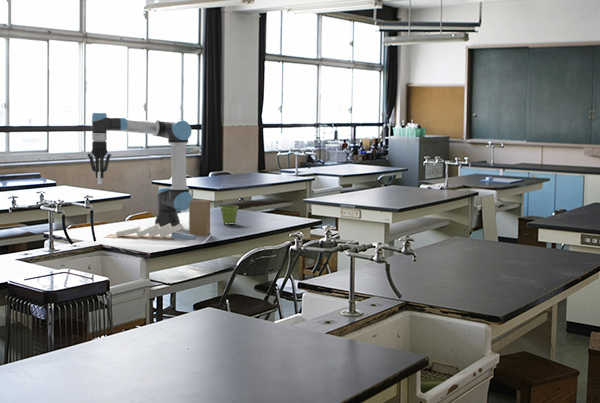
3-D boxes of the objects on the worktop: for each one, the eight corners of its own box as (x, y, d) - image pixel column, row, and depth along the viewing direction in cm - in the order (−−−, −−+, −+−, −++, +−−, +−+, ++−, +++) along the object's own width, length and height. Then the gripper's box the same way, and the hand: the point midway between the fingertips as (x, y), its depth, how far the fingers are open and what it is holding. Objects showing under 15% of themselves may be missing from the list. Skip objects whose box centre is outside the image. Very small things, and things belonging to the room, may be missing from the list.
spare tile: (117, 237, 365) (138, 232, 364) (115, 232, 365) (137, 227, 364) (119, 235, 370) (140, 230, 369) (118, 230, 369) (139, 226, 369)
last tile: (173, 232, 369) (195, 234, 369) (172, 236, 369) (194, 239, 369) (171, 233, 364) (193, 236, 364) (171, 238, 364) (193, 241, 364)
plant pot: (220, 222, 434) (221, 205, 433) (239, 223, 434) (239, 205, 433) (218, 225, 422) (218, 207, 421) (237, 226, 422) (237, 208, 421)
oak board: (109, 235, 373) (109, 234, 373) (178, 238, 373) (178, 236, 373) (103, 239, 362) (103, 237, 361) (173, 241, 361) (173, 239, 361)
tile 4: (161, 232, 369) (181, 223, 368) (163, 236, 369) (183, 227, 368) (159, 233, 364) (179, 224, 363) (161, 238, 364) (181, 228, 364)
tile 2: (138, 231, 369) (158, 223, 368) (140, 236, 369) (160, 227, 369) (136, 233, 364) (156, 224, 364) (138, 237, 365) (158, 228, 364)
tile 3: (150, 232, 369) (170, 223, 368) (152, 236, 369) (172, 227, 369) (148, 233, 364) (168, 224, 364) (150, 238, 365) (170, 228, 364)
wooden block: (210, 234, 387) (210, 199, 385) (206, 237, 377) (206, 201, 375) (193, 233, 388) (193, 199, 386) (188, 236, 378) (188, 201, 376)
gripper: (85, 140, 366) (85, 184, 369) (109, 141, 366) (109, 185, 368) (89, 140, 373) (90, 183, 376) (113, 141, 373) (113, 183, 376)
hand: (99, 184), depth 372 cm, fingers closed
